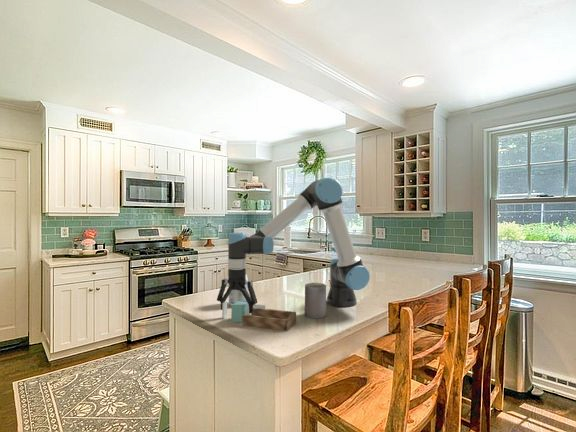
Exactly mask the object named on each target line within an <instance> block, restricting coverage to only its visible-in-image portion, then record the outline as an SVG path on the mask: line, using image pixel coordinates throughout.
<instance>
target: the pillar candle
mask: <svg viewBox="0 0 576 432" xmlns="http://www.w3.org/2000/svg"><path fill="white" fill-rule="evenodd" d="M326 315H327V285H326V284H325V283H322V282H316V281H315V282H308V283H305V284H304V316H305V317H306V318H310V319H322V318H325V317H326Z"/></svg>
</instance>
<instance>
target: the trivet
mask: <svg viewBox="0 0 576 432" xmlns="http://www.w3.org/2000/svg"><path fill="white" fill-rule="evenodd" d="M253 308H263V309H266V305H263V304H255V305H253ZM251 315H253V312H252V313H251Z"/></svg>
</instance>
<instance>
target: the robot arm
mask: <svg viewBox="0 0 576 432" xmlns="http://www.w3.org/2000/svg"><path fill="white" fill-rule="evenodd" d="M342 196H343V187H342V185H341V183H340V182H339V180H337V179H336V178H333V177H323V178H320V179H318V180H315V181H312V182H311V183H310V184H309V185H308V186H307V187H306V188H305V189H304V190H302V191H301V192H300V193H299V194H298V195H297V198H296V199H295V200H294V201H293V202H292V203H290V204H289V205H287V207H286V208H284V209H283V210H282V211H281V212H280V213H278V214H277V215H275V217H273V218H272V219H271V220H270V221H268V222H267V223H266V224H265V225H264V226H262V227H261V228H260V229H258V231H256V232H255V233H254V234H251V235H250V236H247V233H246V232H240V231H239V232H230V233H229V234H228V241H227V243H228V244H227V248H228V249H227V250H228V253H227V254H228V255H227V256H228V260H227V261H228V265H227V267H228V269H227V277H228V278H222V280H221V286H220V289H219V292H218V294H217V298H216V301H217V302H220V310H222V316H221V318H222V319H225V318H228V301H227V299H229V294H230V293H231V291H232V290H240V291H241V292H242V294H243V296H244V297H245V299H246V301H247V303H248V304H249V305H248V306H247V315H251V313H252V312H253V305H257V304H258V298H257V296H256V293H255V290H254V286H253V282H254V281H253V280H248V281H246V279H245V278H246V275H247V270H246V266H247V265H246V264H247V263H246V262H247V260H246V259H247V257H246V255H269V254H273V252H274V238H276V237H277V236H278V235H279V234H280V233H282V232H283V231H285V230H286V228H287V227H289V226H290V225H291V224H292V223H294V222H295V221H296V220H297V219H299V217H301V216H302V215H303V214H305V212H307V211H311V210H312V209H314V208H315V207H317V209H318V211H319V212H321V213H322V214H323V217H324V220H325V222H326V226H327V229H328V232H329V235H330V239H331V241H332V244H333V247H334V249H335V254H336V255H337V258H331V260H330V261H329V262H330V264H329V274H330V275H329V277H330V278H329V282H330V285H329V289H328V292H327V295H326V304H328V305H330V306H335V307H343V308H345V307H346V308H347V307H353V306H355V305H357V297H356V293H355V291H361V290H363V289H365V288H366V287H367V285H368V284H369V282H370V278H371V276H370V275H371V274H370V272H369V269H368V268H367V267H366V266H364V264H363V260H362V258H361V256H359V255H357V254H356V250H355V248H354V247H355V246H354V244H353V241H352V238H351V234H350V232H349V228H348V226H347V223H346V220H345V215H344V214H343V213H344V212H343V210H342V206H343V199H342ZM227 284H228V287H227ZM245 284H246V285H247V286H248V292H247V290H246V287H245ZM229 285H230V286H229ZM226 288H227V289H226ZM242 288H243V289H242Z"/></svg>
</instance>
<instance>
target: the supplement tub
mask: <svg viewBox="0 0 576 432" xmlns="http://www.w3.org/2000/svg"><path fill="white" fill-rule="evenodd" d="M245 279H246V281H249V279H248V275H247V274H246V278H245ZM229 286H230V285H229V284H228V287H229ZM245 287H246V290H247V292H248V293H249V291H248V286H247V285H246V284H245ZM242 289H243V288H242ZM238 301H241V302H247V301H246V299H245V297H244V296H243V294H242V292H241V291H240V290H232V291H231V293H230V294H229V296H228V305H229V306H231V305H232V304H234V303H236V302H238Z"/></svg>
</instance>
